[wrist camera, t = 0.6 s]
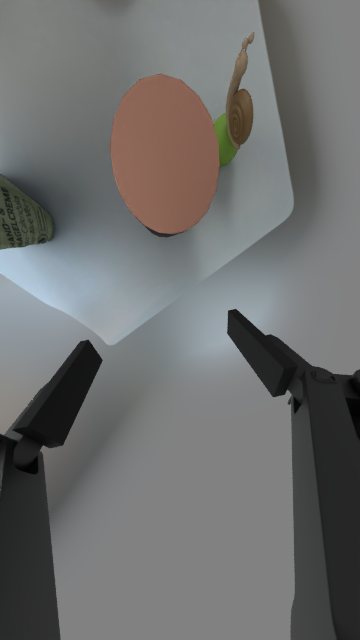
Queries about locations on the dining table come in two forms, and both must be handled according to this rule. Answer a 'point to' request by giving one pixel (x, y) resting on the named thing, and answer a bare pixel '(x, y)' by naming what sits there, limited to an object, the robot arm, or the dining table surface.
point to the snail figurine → (235, 112)
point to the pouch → (21, 218)
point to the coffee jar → (164, 154)
